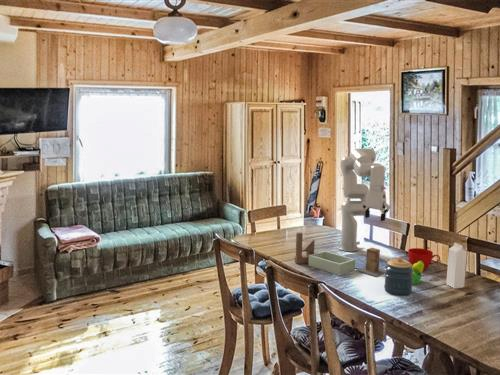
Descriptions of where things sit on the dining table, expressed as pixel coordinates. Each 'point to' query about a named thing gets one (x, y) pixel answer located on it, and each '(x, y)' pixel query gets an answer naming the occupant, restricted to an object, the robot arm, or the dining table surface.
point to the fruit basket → (417, 272)
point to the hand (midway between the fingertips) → (374, 219)
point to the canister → (398, 277)
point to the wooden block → (303, 249)
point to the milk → (456, 266)
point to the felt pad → (375, 274)
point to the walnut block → (372, 259)
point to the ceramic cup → (421, 256)
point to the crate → (331, 262)
